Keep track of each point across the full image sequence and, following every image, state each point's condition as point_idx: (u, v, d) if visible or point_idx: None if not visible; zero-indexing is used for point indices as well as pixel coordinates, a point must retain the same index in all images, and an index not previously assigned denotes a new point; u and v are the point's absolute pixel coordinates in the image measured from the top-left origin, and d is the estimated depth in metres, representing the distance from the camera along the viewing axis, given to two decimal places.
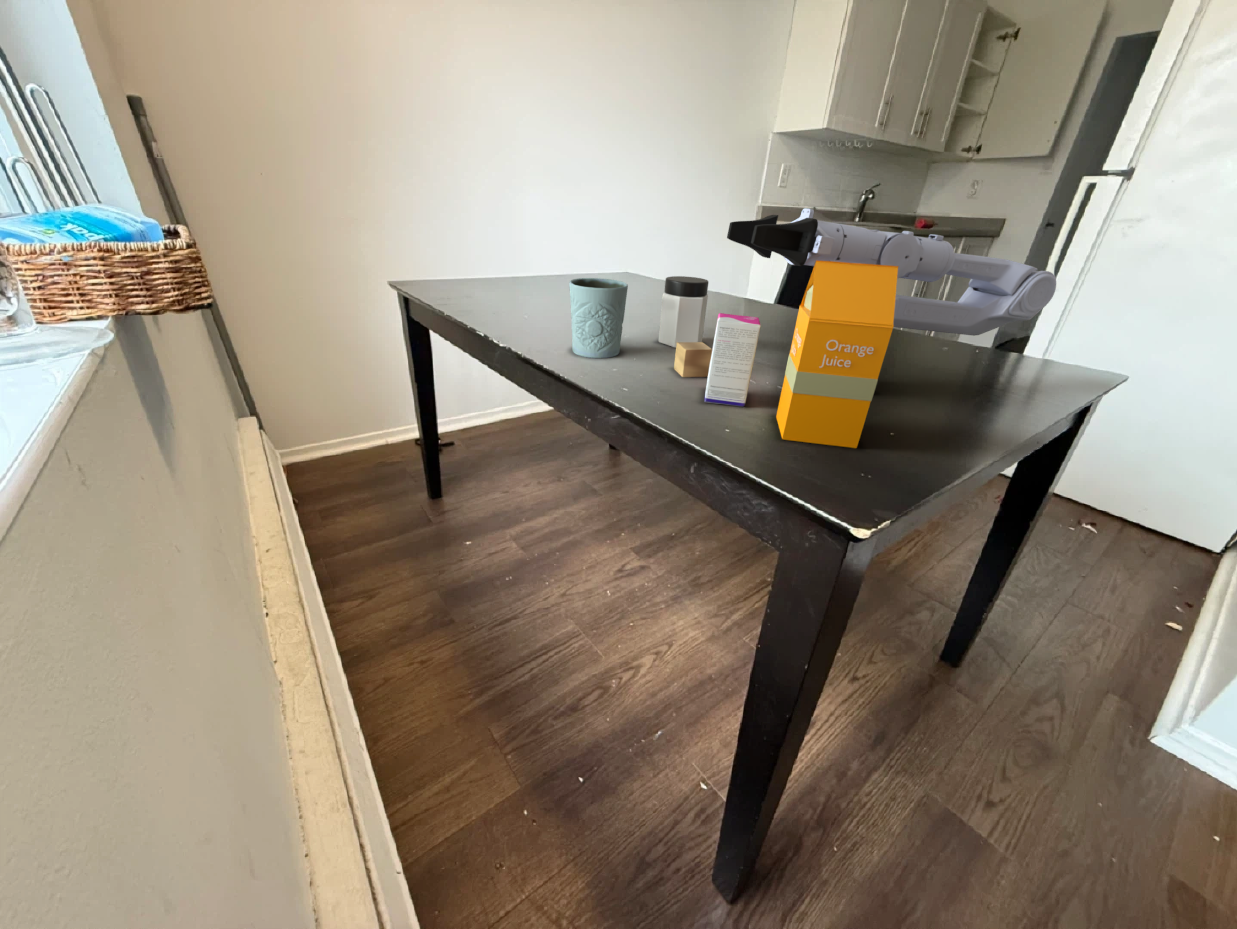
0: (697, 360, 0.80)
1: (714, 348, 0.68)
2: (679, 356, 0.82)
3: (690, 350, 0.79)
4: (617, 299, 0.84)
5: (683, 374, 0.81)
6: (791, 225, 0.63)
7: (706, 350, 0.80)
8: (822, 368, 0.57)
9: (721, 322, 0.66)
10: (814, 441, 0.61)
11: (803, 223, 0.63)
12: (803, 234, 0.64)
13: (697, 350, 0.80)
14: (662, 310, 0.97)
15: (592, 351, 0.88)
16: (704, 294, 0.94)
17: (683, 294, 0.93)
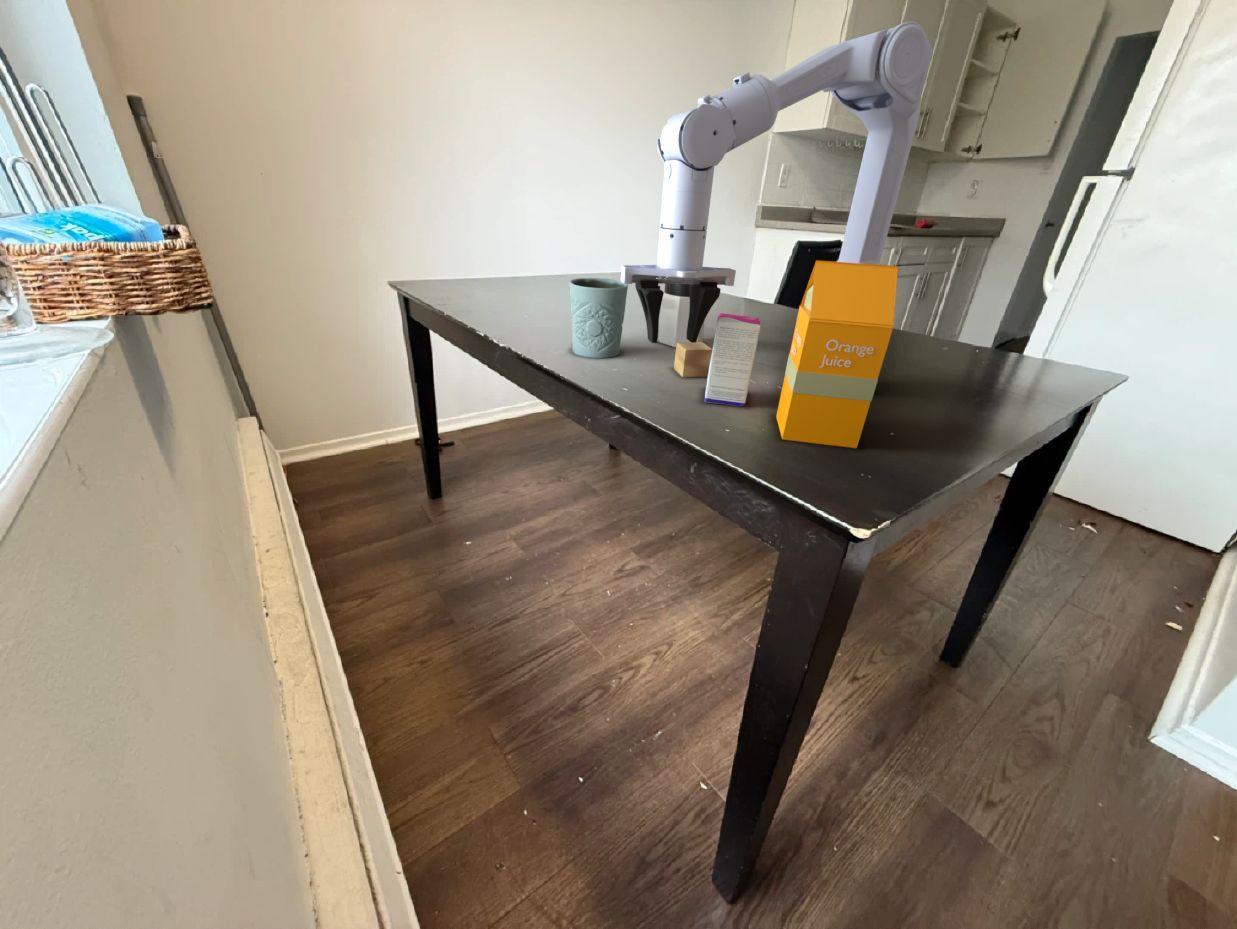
0: (697, 360, 0.80)
1: (714, 348, 0.68)
2: (679, 356, 0.82)
3: (690, 350, 0.79)
4: (617, 299, 0.84)
5: (683, 374, 0.81)
6: None
7: (706, 350, 0.80)
8: (822, 368, 0.57)
9: (721, 322, 0.66)
10: (814, 441, 0.61)
11: (714, 302, 0.64)
12: None
13: (697, 350, 0.80)
14: (662, 310, 0.97)
15: (592, 351, 0.88)
16: None
17: (683, 294, 0.93)
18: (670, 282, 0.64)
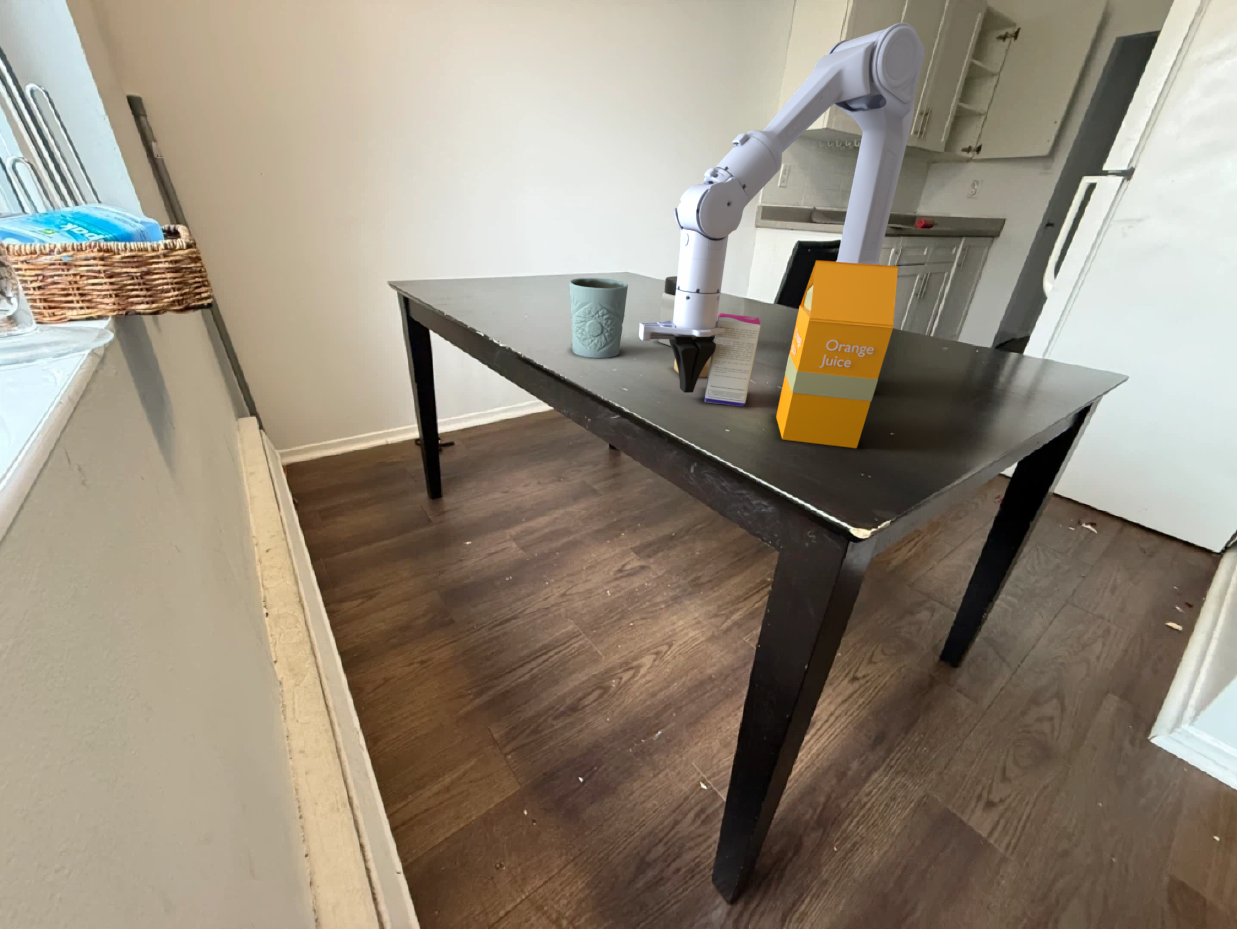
0: None
1: None
2: None
3: None
4: (617, 299, 0.84)
5: None
6: (704, 365, 0.69)
7: None
8: (822, 368, 0.57)
9: (721, 322, 0.66)
10: (814, 441, 0.61)
11: (710, 356, 0.68)
12: None
13: None
14: (662, 310, 0.97)
15: (592, 351, 0.88)
16: None
17: None
18: None
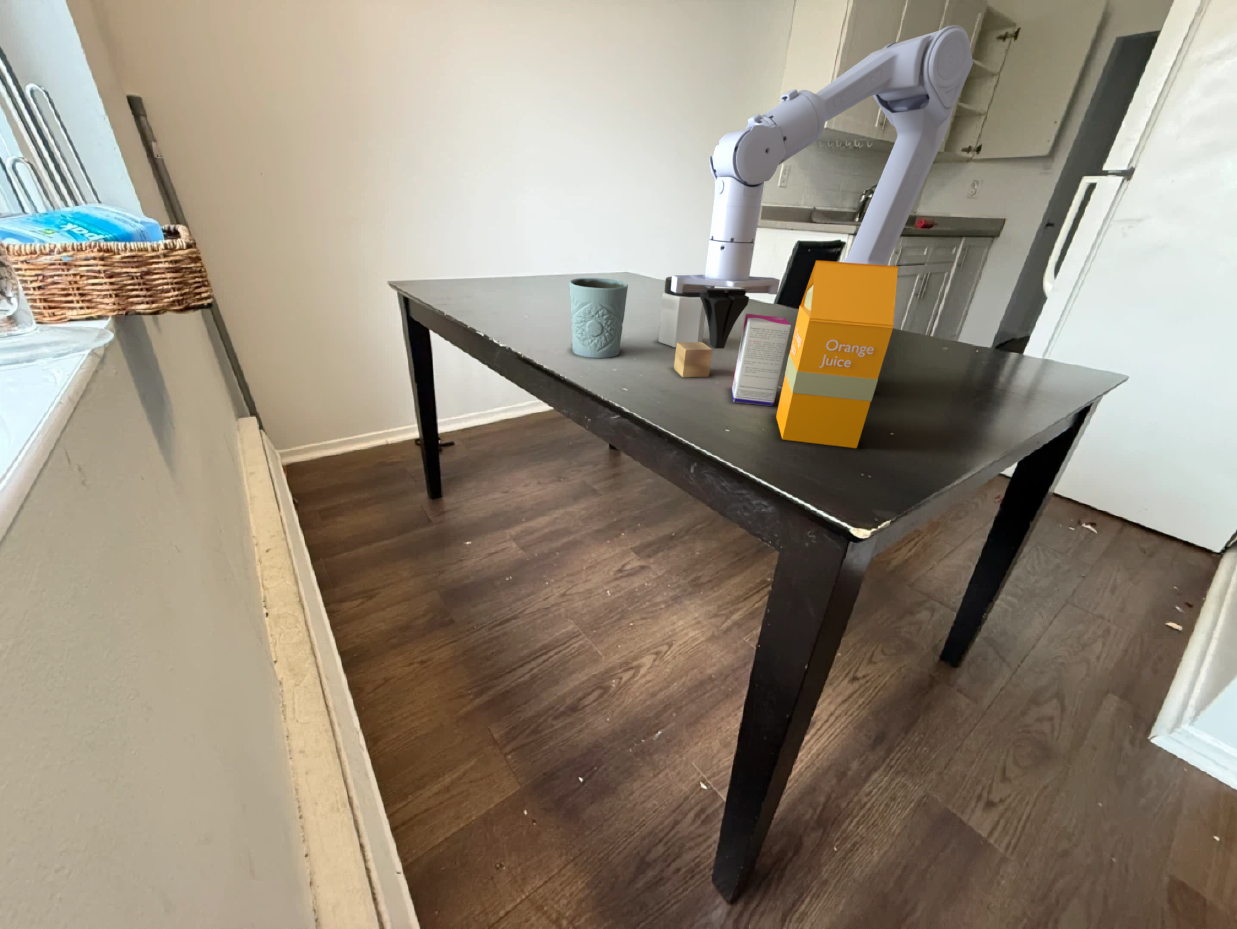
0: (697, 360, 0.80)
1: (744, 348, 0.68)
2: (679, 356, 0.82)
3: (690, 350, 0.79)
4: (617, 299, 0.84)
5: (683, 374, 0.81)
6: (736, 319, 0.68)
7: (706, 350, 0.80)
8: (822, 368, 0.57)
9: (752, 323, 0.67)
10: (814, 441, 0.61)
11: (742, 310, 0.67)
12: None
13: (697, 350, 0.80)
14: (662, 310, 0.97)
15: (592, 351, 0.88)
16: None
17: (683, 294, 0.93)
18: None
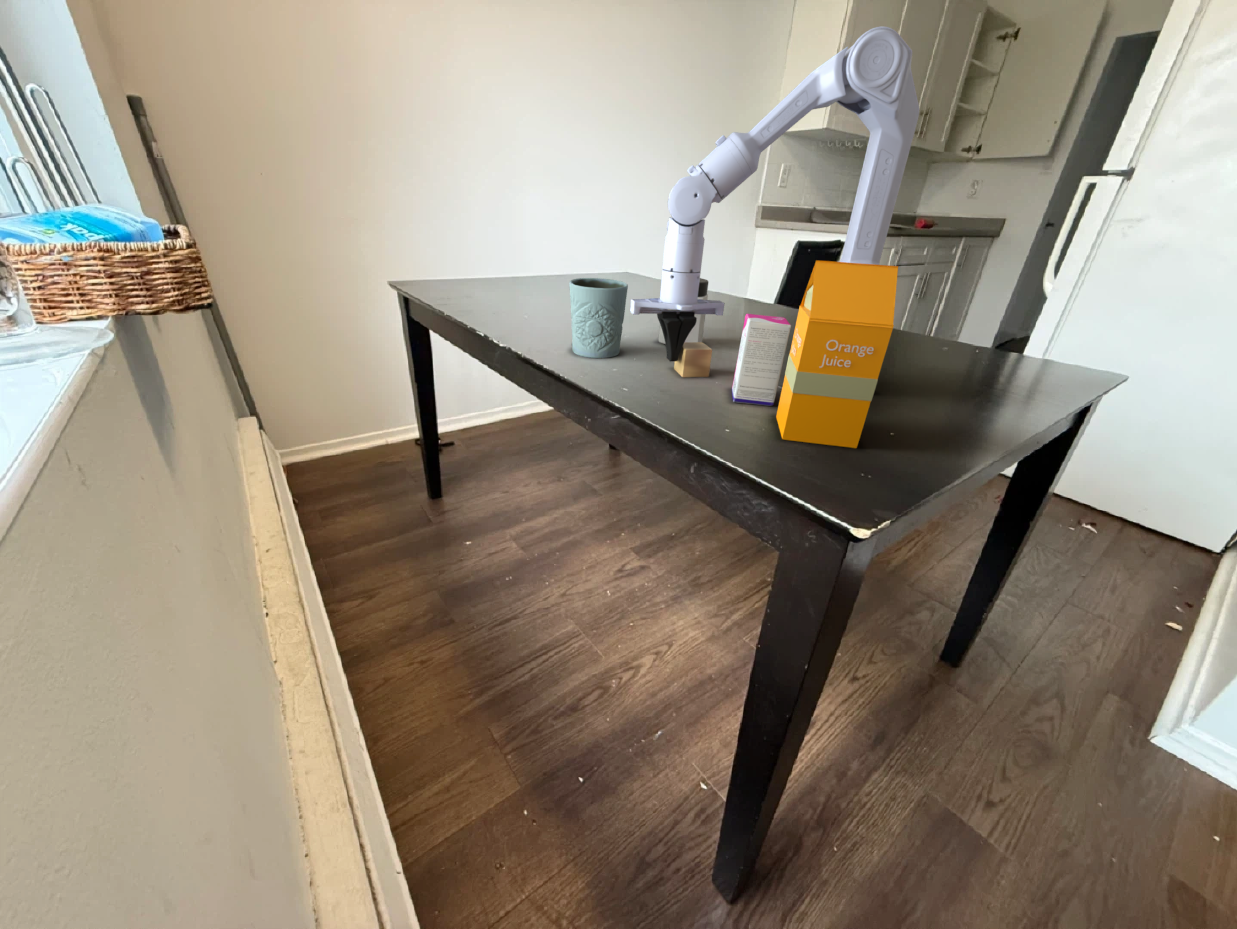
0: (697, 360, 0.80)
1: (744, 348, 0.68)
2: (679, 356, 0.82)
3: (690, 350, 0.79)
4: (617, 299, 0.84)
5: (683, 374, 0.81)
6: None
7: (706, 350, 0.80)
8: (822, 368, 0.57)
9: (752, 323, 0.67)
10: (814, 441, 0.61)
11: (691, 329, 0.78)
12: None
13: (697, 350, 0.80)
14: None
15: (592, 351, 0.88)
16: (704, 294, 0.94)
17: None
18: None
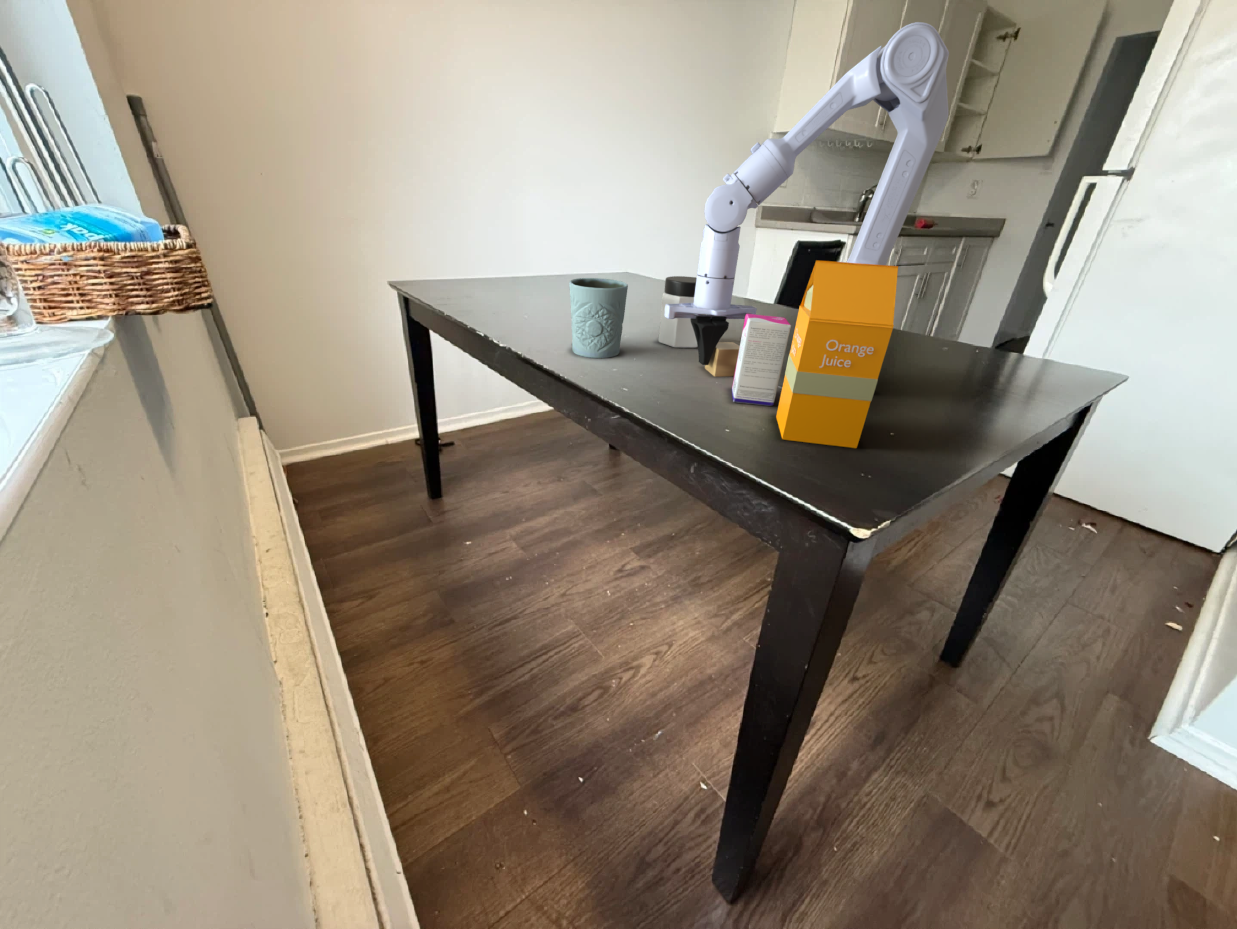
0: (730, 359, 0.82)
1: (744, 348, 0.68)
2: None
3: (723, 350, 0.81)
4: (617, 299, 0.84)
5: (715, 373, 0.82)
6: (718, 341, 0.80)
7: (738, 350, 0.81)
8: (822, 368, 0.57)
9: (752, 323, 0.67)
10: (814, 441, 0.61)
11: (723, 333, 0.79)
12: None
13: (730, 350, 0.81)
14: (662, 310, 0.97)
15: (592, 351, 0.88)
16: None
17: (683, 294, 0.93)
18: None
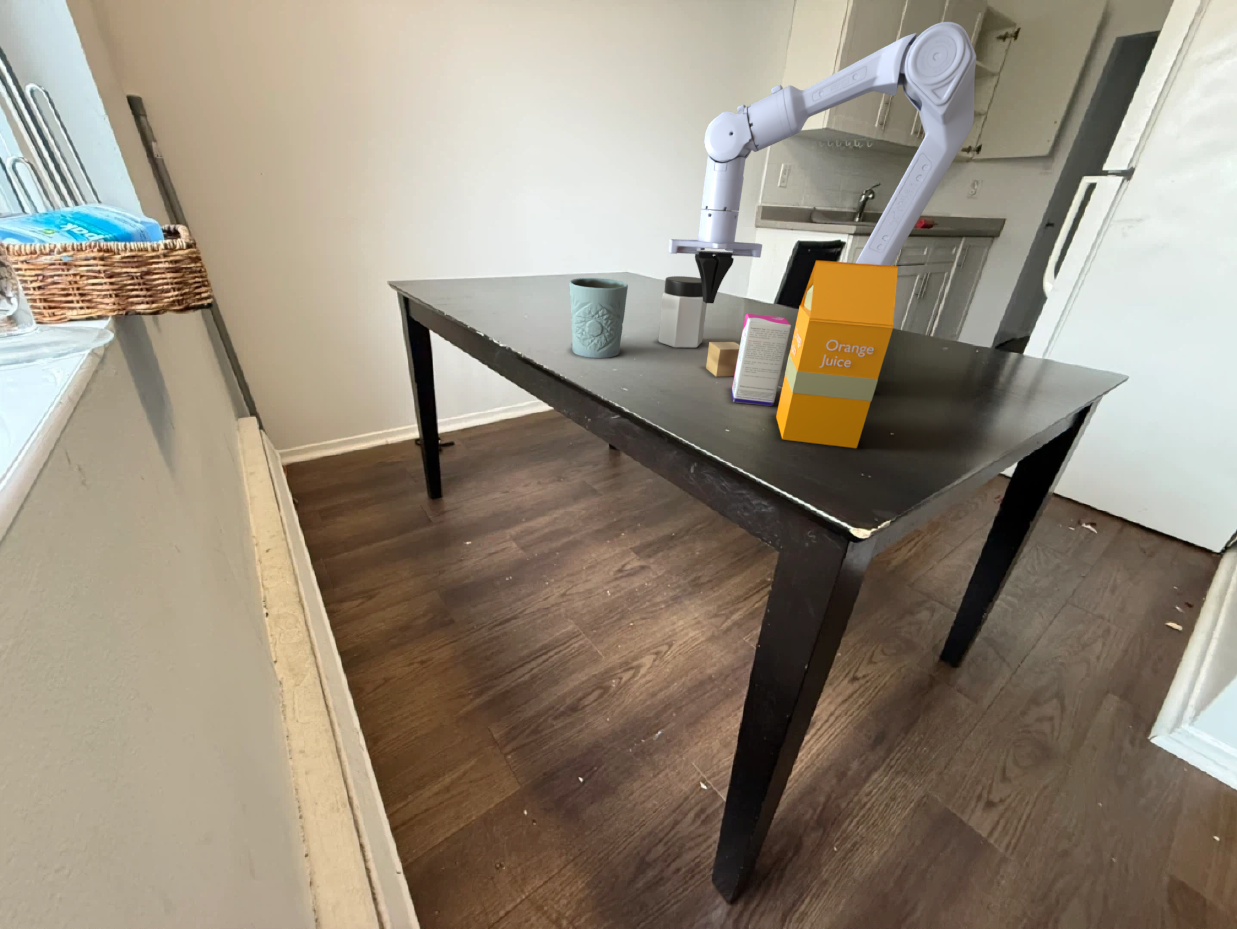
0: (731, 359, 0.82)
1: (744, 348, 0.68)
2: (712, 355, 0.83)
3: (724, 350, 0.81)
4: (617, 299, 0.84)
5: (717, 373, 0.82)
6: (723, 277, 0.80)
7: None
8: (822, 368, 0.57)
9: (752, 323, 0.67)
10: (814, 441, 0.61)
11: (728, 269, 0.80)
12: None
13: (731, 350, 0.81)
14: (662, 310, 0.97)
15: (592, 351, 0.88)
16: None
17: (683, 294, 0.93)
18: None
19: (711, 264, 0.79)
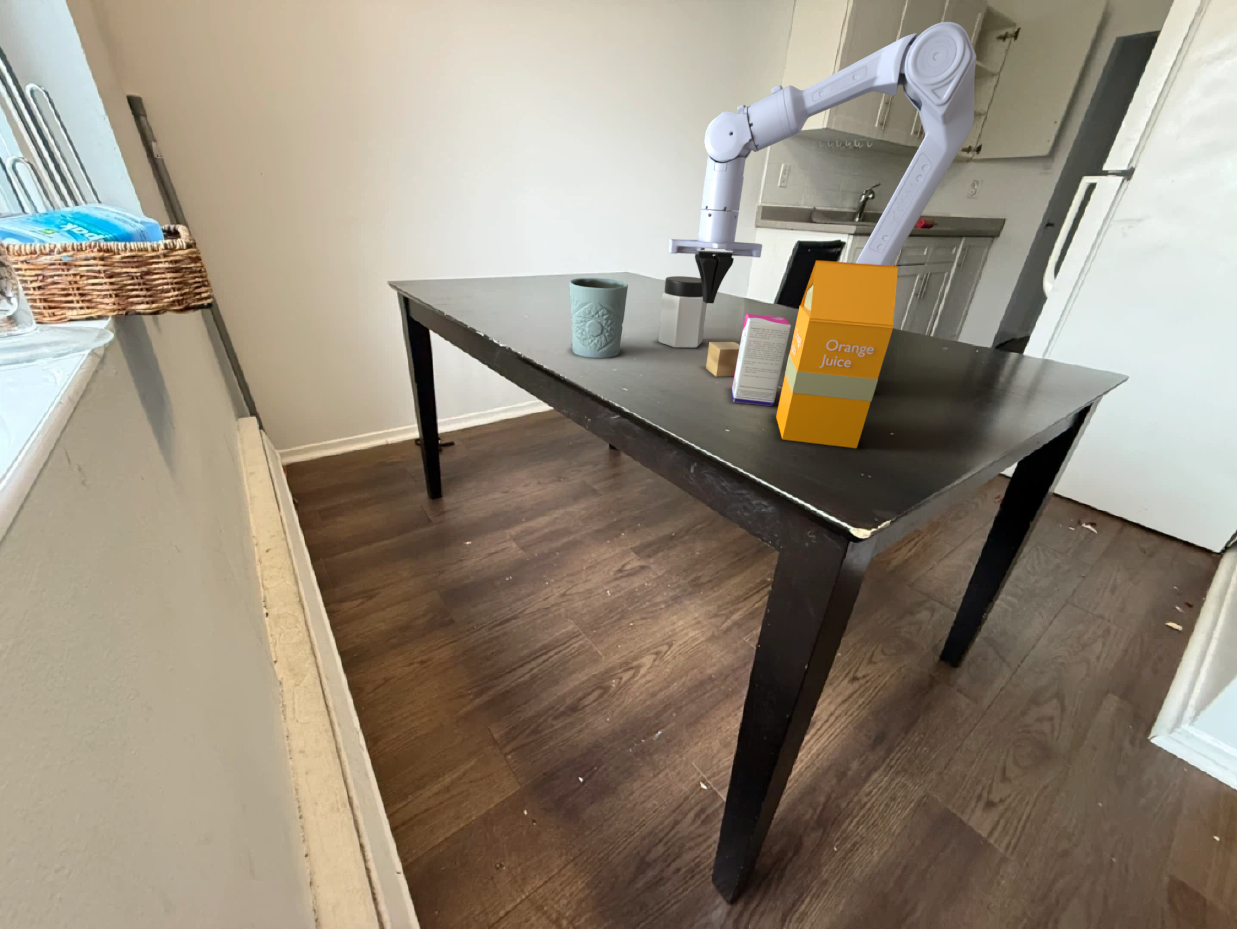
0: (731, 359, 0.82)
1: (744, 348, 0.68)
2: (712, 355, 0.83)
3: (724, 350, 0.81)
4: (617, 299, 0.84)
5: (717, 373, 0.82)
6: (723, 277, 0.81)
7: None
8: (822, 368, 0.57)
9: (752, 323, 0.67)
10: (814, 441, 0.61)
11: (728, 269, 0.80)
12: None
13: (731, 350, 0.81)
14: (662, 310, 0.97)
15: (592, 351, 0.88)
16: None
17: (683, 294, 0.93)
18: None
19: (711, 264, 0.79)
